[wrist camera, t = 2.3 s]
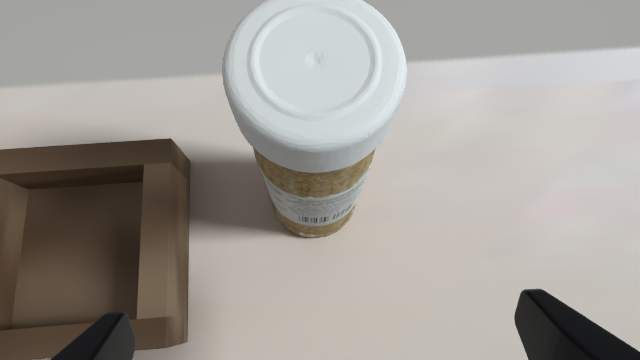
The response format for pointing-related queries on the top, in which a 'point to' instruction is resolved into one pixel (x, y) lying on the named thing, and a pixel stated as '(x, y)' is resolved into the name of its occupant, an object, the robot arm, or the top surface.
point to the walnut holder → (92, 243)
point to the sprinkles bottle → (314, 102)
